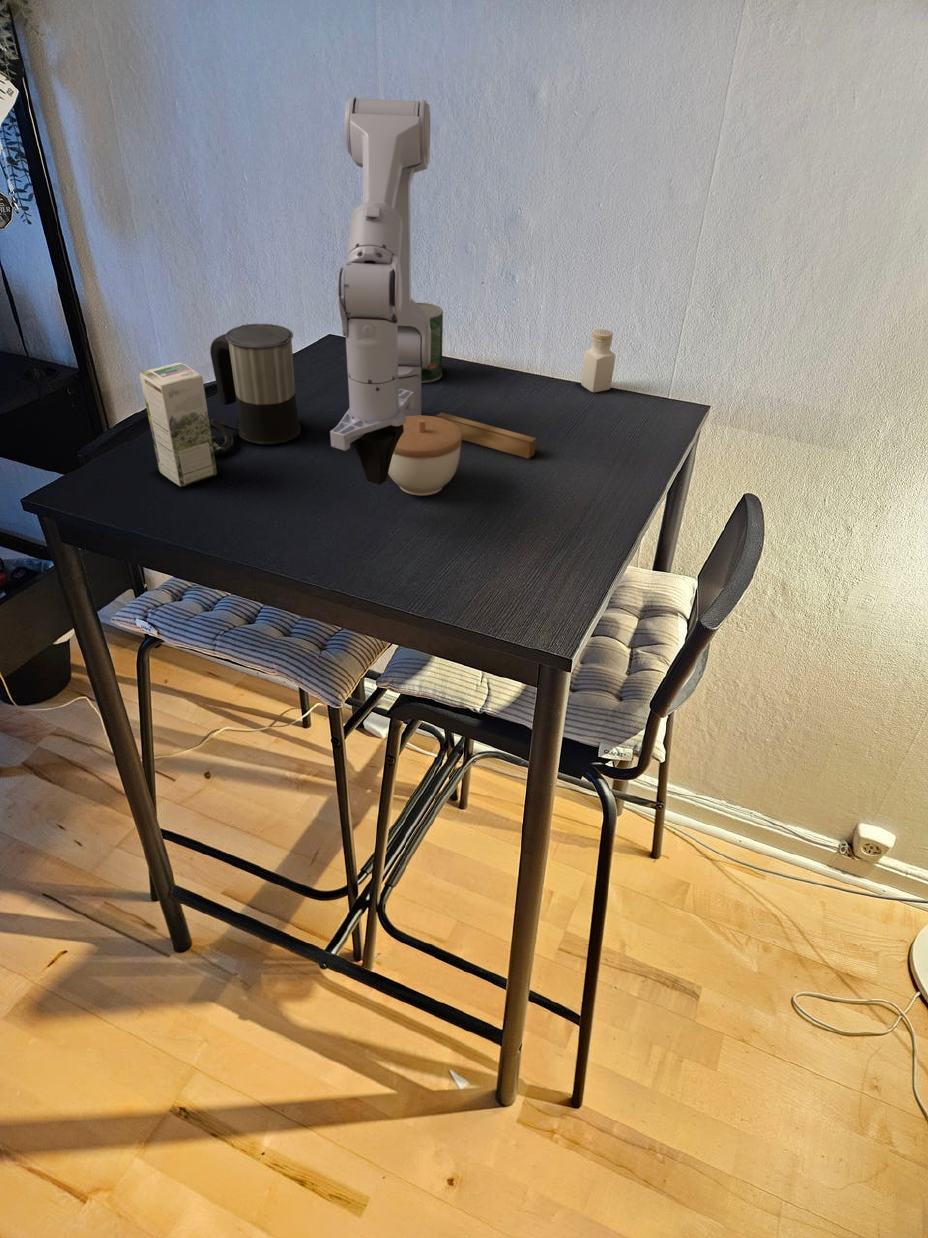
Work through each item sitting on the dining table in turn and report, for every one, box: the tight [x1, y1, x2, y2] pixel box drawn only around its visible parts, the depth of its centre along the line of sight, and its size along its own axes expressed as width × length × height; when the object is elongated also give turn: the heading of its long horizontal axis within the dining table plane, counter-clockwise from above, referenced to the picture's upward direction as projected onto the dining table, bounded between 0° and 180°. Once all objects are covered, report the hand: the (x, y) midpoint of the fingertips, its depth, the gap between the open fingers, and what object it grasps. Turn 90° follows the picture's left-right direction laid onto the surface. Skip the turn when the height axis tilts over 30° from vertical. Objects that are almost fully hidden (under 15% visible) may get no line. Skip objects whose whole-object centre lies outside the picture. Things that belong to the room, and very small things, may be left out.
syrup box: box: [139, 361, 218, 488], centre depth 110 cm, size 6×6×14 cm
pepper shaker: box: [580, 328, 616, 393], centre depth 140 cm, size 4×4×10 cm
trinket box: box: [388, 414, 463, 496], centre depth 111 cm, size 11×11×9 cm
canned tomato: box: [416, 302, 444, 384], centre depth 141 cm, size 8×8×11 cm
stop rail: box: [434, 412, 537, 459], centre depth 124 cm, size 16×2×3 cm, turn 60°
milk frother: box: [209, 323, 302, 456], centre depth 118 cm, size 14×16×15 cm
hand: (376, 480), depth 103 cm, fingers closed
